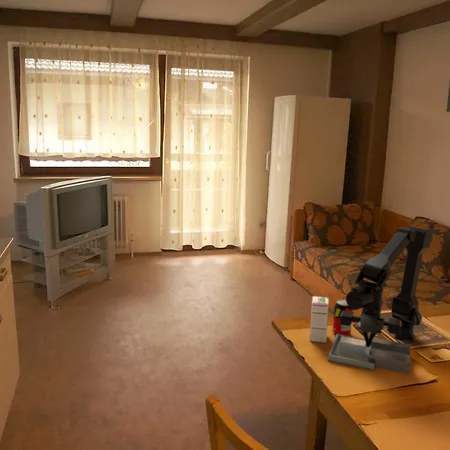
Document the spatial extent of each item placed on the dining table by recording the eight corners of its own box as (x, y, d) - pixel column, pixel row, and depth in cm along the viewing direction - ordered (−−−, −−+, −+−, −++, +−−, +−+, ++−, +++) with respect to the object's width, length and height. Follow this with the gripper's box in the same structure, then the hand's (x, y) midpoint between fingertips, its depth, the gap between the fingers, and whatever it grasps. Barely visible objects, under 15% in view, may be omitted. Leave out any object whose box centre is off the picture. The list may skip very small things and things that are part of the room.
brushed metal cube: (352, 349, 159) (340, 347, 160) (353, 338, 158) (341, 336, 159) (351, 355, 155) (338, 352, 157) (352, 343, 154) (339, 341, 156)
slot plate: (371, 348, 161) (372, 337, 160) (409, 355, 156) (410, 344, 156) (367, 365, 150) (369, 354, 149) (408, 374, 146) (410, 362, 145)
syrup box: (326, 343, 164) (329, 303, 160) (309, 341, 165) (311, 301, 161) (326, 335, 169) (329, 297, 166) (309, 333, 170) (312, 295, 167)
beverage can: (347, 329, 174) (350, 298, 171) (352, 337, 168) (355, 306, 165) (330, 329, 174) (332, 298, 171) (334, 337, 168) (337, 305, 165)
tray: (336, 339, 167) (336, 333, 166) (378, 347, 162) (378, 341, 161) (328, 360, 152) (328, 355, 152) (373, 370, 147) (374, 364, 147)
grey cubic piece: (352, 349, 159) (353, 338, 158) (365, 351, 157) (366, 340, 156) (351, 355, 155) (352, 343, 154) (364, 357, 154) (365, 346, 153)
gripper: (338, 306, 147) (334, 352, 151) (402, 316, 140) (397, 364, 144) (343, 293, 157) (340, 337, 161) (404, 302, 150) (398, 347, 154)
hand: (367, 346), depth 155 cm, fingers closed
